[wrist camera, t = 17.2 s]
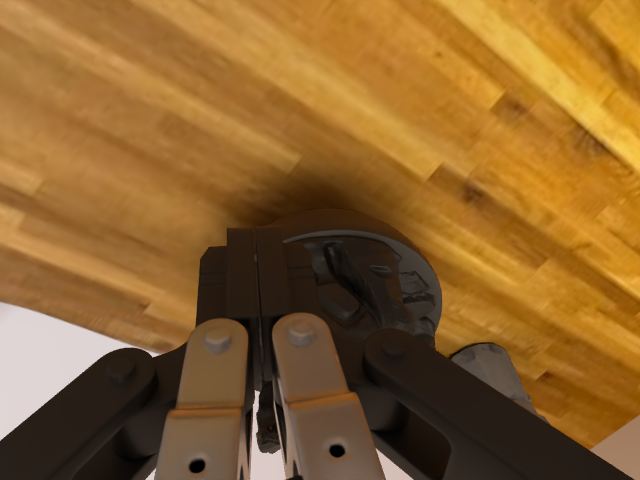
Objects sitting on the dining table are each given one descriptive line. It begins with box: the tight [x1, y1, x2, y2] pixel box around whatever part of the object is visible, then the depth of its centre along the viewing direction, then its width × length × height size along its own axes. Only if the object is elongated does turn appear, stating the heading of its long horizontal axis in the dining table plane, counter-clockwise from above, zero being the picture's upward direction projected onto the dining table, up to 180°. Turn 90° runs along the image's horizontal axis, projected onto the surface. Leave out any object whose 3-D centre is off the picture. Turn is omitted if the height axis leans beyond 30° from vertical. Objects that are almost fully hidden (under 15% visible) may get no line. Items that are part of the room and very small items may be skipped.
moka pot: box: [450, 343, 550, 424], centre depth 59 cm, size 10×15×20 cm, turn 127°
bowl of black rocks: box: [253, 208, 442, 454], centre depth 45 cm, size 20×20×19 cm
